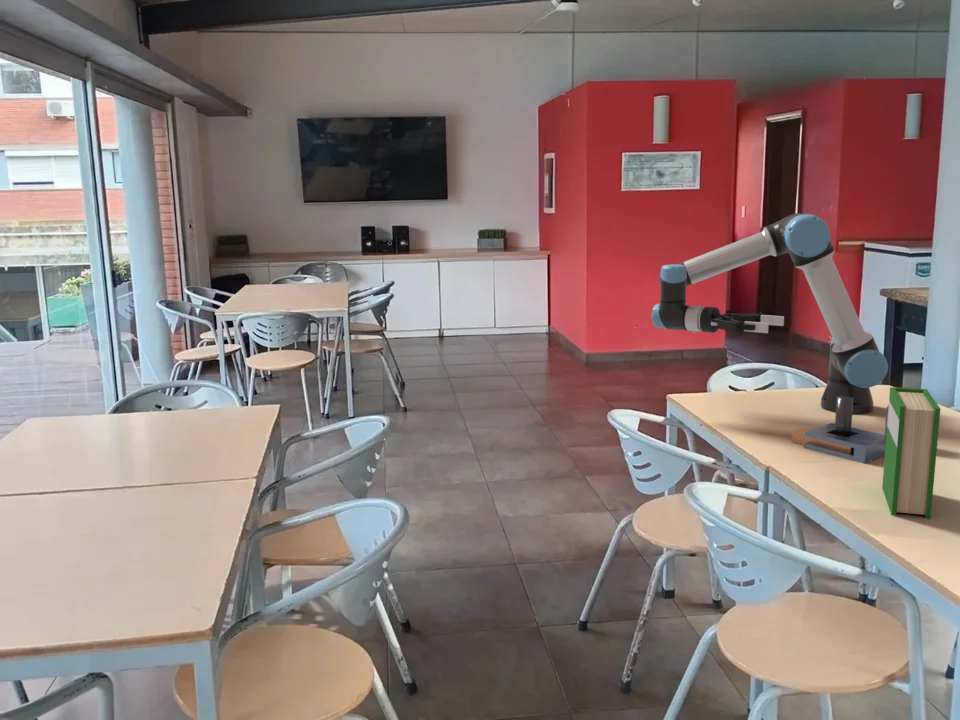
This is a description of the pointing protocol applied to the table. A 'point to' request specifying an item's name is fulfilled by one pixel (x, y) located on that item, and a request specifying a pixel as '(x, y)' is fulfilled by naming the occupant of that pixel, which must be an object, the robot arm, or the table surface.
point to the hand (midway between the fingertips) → (776, 324)
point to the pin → (843, 416)
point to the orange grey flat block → (841, 442)
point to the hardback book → (910, 451)
